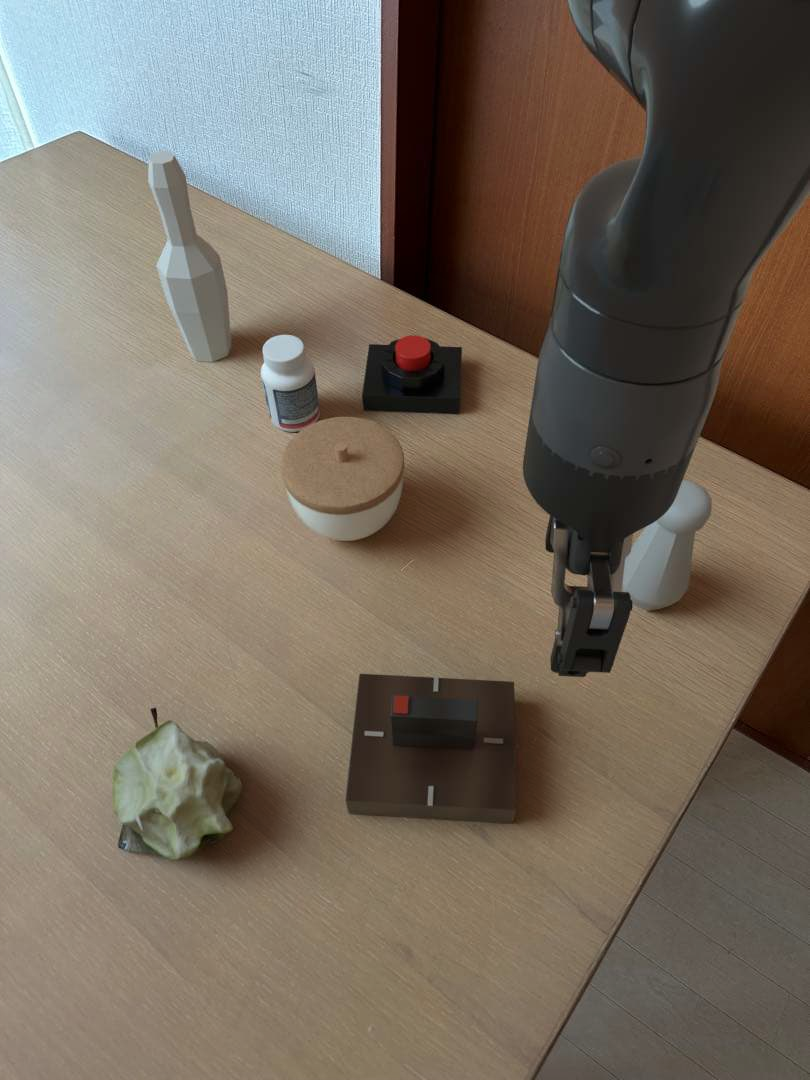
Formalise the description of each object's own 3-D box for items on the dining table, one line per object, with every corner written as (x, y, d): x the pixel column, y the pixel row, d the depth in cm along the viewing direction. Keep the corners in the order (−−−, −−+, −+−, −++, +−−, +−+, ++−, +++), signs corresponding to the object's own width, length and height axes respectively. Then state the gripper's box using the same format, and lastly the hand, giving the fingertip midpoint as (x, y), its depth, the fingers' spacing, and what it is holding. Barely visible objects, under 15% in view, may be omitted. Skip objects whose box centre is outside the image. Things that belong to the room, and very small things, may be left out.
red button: (431, 348, 87) (431, 335, 85) (429, 372, 84) (429, 358, 83) (397, 347, 87) (396, 334, 85) (394, 371, 85) (394, 357, 83)
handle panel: (510, 697, 66) (514, 679, 64) (512, 825, 60) (516, 810, 58) (361, 689, 67) (359, 671, 65) (348, 815, 61) (345, 800, 58)
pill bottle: (331, 414, 86) (322, 346, 79) (293, 441, 84) (281, 374, 77) (296, 390, 88) (285, 322, 81) (259, 416, 86) (244, 348, 79)
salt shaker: (616, 559, 74) (648, 460, 64) (681, 569, 74) (724, 471, 63) (612, 613, 71) (645, 518, 61) (681, 624, 70) (726, 530, 60)
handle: (474, 729, 62) (478, 697, 57) (474, 750, 61) (477, 719, 56) (393, 725, 62) (391, 693, 58) (392, 745, 61) (389, 714, 57)
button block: (461, 362, 91) (462, 333, 87) (459, 414, 86) (460, 385, 83) (370, 359, 91) (368, 330, 88) (363, 410, 86) (360, 381, 83)
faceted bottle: (184, 371, 90) (127, 180, 73) (179, 335, 94) (124, 144, 77) (242, 362, 91) (199, 170, 74) (235, 326, 95) (193, 135, 77)
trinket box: (377, 458, 82) (372, 388, 75) (425, 536, 76) (425, 467, 69) (275, 495, 80) (260, 425, 72) (316, 578, 74) (304, 511, 66)
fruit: (139, 758, 65) (125, 696, 60) (257, 773, 65) (254, 712, 60) (97, 871, 58) (77, 812, 53) (228, 888, 58) (222, 831, 53)
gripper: (728, 539, 33) (640, 718, 45) (680, 310, 41) (617, 516, 54) (536, 530, 33) (503, 710, 46) (528, 306, 42) (502, 510, 54)
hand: (565, 605), depth 50 cm, fingers open, 8 cm apart
